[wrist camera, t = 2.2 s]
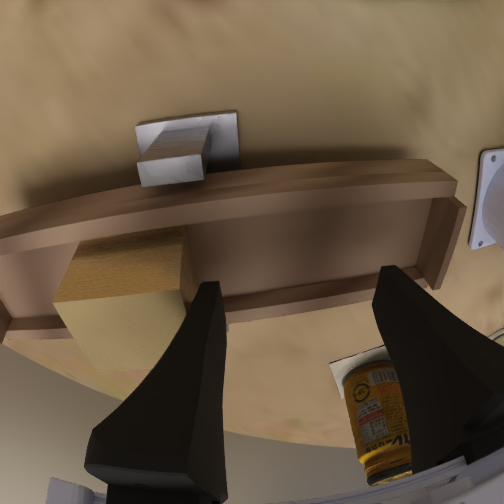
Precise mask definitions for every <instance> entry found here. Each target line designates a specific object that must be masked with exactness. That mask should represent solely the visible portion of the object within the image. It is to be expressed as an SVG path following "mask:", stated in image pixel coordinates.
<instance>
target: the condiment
mask: <svg viewBox="0 0 504 504" xmlns="http://www.w3.org/2000/svg"><path fill="white" fill-rule="evenodd" d="M329 365H330V367H331V370H332V373H333V375H334V379H335V381H336V384H337V387H338V389H339V392H340V395H341V398H342V399H344V398H345V399H346V405H347V408H348V413H349V417H350V424H351V427H352V432H353V435H354V439H355V444H356V449H357V455H358V459H359V461H360V462H361V463H362V464H363V465H365V469H364V470H365V473H366V475H367V482H368V484H369V485H370V486H377V485H380V484H384V483H388V482H391V481H395V480H398V479H401V478H404V477H408V476H411V475H413V473H412V460H411V446H410V437H409V429H408V422H407V417H406V411H405V406H404V401H403V397H402V393H401V388H400V384H399V381H398V378H397V375H396V372H395V369H394V367H393V364H392V362H391V359H390V357H389V354H388V352H387V349H386V347H385V346H383V347H380V348H375V349H373V350H370V351H367V352H364V353H359V354H358V355H355V356H353V357H350V358H345V359H342V360H340V361H337V362H334V363H331V364H329ZM354 365H355V366H354ZM353 366H354V367H353ZM351 368H352V369H351Z"/></svg>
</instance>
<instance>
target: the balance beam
mask: <svg viewBox="0 0 504 504" xmlns="http://www.w3.org/2000/svg"><path fill="white" fill-rule="evenodd" d="M457 182H458V181H457V180H456V179H454V178H453V177H452V176H450V175H449V174H447V173H446V172H445V171H443V170H442V169H440V168H439V167H437V166H436V165H434V164H433V163H431V162H430V161H428V160H427V159H405V160H365V161H343V162H325V163H311V164H297V165H285V166H274V167H264V168H254V169H245V170H236V171H228V172H220V173H212V174H205V178H204V180H199V181H190V182H181V183H172V184H164V185H156V186H148V187H142V185H141V184H140V185H134V186H129V187H123V188H118V189H113V190H108V191H103V192H98V193H93V194H88V195H83V196H79V197H74V198H70V199H65V200H61V201H57V202H52V203H48V204H44V205H40V206H36V207H32V208H28V209H24V210H21V211H17V212H13V213H9V214H6V215H2V216H0V344H2V342H3V339H4V337H5V336H6V338H7V339H8V340H42V339H68V338H73V336H72V335H71V333H70V331H69V330H68V328H67V327H66V325H65V323H64V322H63V320H62V318H61V317H60V315H59V313H58V312H57V310H56V308H55V307H54V305H53V300H54V298H55V295H56V293H57V291H58V288H59V286H60V284H61V281H62V279H63V277H64V275H65V273H66V270H67V268H68V266H69V264H70V262H71V260H72V257H73V255H74V253H75V251H76V249H77V247H78V245H79V243H80V241H82V240H88V239H94V238H100V237H106V236H112V235H119V234H125V233H131V232H138V231H144V230H151V229H158V228H165V227H171V226H178V225H185V230H186V235H187V240H188V244H189V249H190V254H191V259H192V263H193V268H194V272H195V277H196V281H197V286H198V288H199V285H200V284H201V283H202V282H206V281H219V282H220V288H221V294H222V299H223V305H224V311H225V317H226V324H231V323H239V322H246V321H253V320H260V319H266V318H273V317H279V316H286V315H292V314H298V313H304V312H310V311H315V310H321V309H326V308H332V307H337V306H343V305H348V304H353V303H358V302H363V301H368V300H373V297H374V294H375V290H376V286H377V282H378V277H379V273H380V269H381V266H388V265H396V266H397V267H399V268H400V269H401V270H402V271H403V272H405V273H406V274H407V275H408V276H409V277H410V278H411V279H413V280H414V281H415V282H416V283H417V284H418V285H419V286H421V287H422V288H427V286H428V284H429V286H430V287H431V289H432V290H436V289H440V287H441V285H442V282H443V279H444V277H445V274H446V271H447V269H448V266H449V263H450V260H451V257H452V254H453V251H454V248H455V245H456V242H457V239H458V236H459V233H460V230H461V226H462V223H463V219H464V216H465V212H466V209H467V207H466V206H465V205H464V204H463V203H461V202H460V201H459V200H458V199H457V198H455V197H454V195H455V191H456V186H457Z"/></svg>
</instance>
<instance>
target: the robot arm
mask: <svg viewBox="0 0 504 504" xmlns="http://www.w3.org/2000/svg"><path fill="white" fill-rule="evenodd" d="M492 156H493V157H492ZM491 157H492V159H491ZM495 243H497V244H498V245H499V246H500V247H501V248H502V249H503V250H504V148H503V149H494V150H486V151H484V152H483V153H482V155H481V159H480V171H479V182H478V191H477V199H476V206H475V213H474V219H473V225H472V231H471V236H470V242H469V246H470V248H471V249H472V250H476V249H479V248H482V247H485V246H489V245H492V244H495ZM372 308H373V312H374V316H375V319H376V323H377V326H378V329H379V332H380V334H381V337H382V339H383V342H384V344H385V347H386V349H387V352H388V354H389V357H390V359H391V362H392V364H393V367H394V369H395V372H396V375H397V378H398V381H399V384H400V388H401V393H402V397H403V401H404V406H405V411H406V417H407V422H408V429H409V437H410V446H411V460H412V473H413V475H411V476H408V477H404V478H401V479H398V480H395V481H391V482H388V483H384V484H380V485H377V486H373V487H369V488H365V489H360V490H356V491H351V492H347V493H342V494H337V495H332V496H326V497H320V498H313V499H306V500H299V501H290V502H281V503H269V504H381V503H385V502H388V501H392V500H395V499H398V498H401V497H405V496H408V495H411V494H413V493H416V492H419V491H422V490H425V489H427V488H430V487H433V486H435V485H438V484H440V483H443V482H445V481H448V480H449V482H448V484H447V485H445V486H443V487H440V488H438V489H436V490H434V491H431V492H429V493H428V494H426V495H424V496H422V497H421V498H418V499H416V500H413V501H411V502H410V503H409V504H504V346H502V345H500V344H499V343H497V342H495V341H493V340H491V339H490V338H488V337H486V336H485V335H483V334H481V333H480V332H478V331H477V330H475V329H473V328H472V327H471V326H469V325H468V324H466V323H465V322H463V321H462V320H461V319H459V318H458V317H457V316H455V315H454V314H453V313H451V312H450V311H449V310H448V309H446V308H445V307H444V306H443V305H441V304H440V303H439V302H438V301H437V300H435V299H434V298H433V297H432V296H431V295H430V294H429V293H427V292H426V291H425V290H424V289H423V288H422V287H421V286H419V285H418V284H417V283H416V282H415V281H414V280H413V279H411V278H410V277H409V276H408V275H407V274H406V273H405V272H403V271H402V270H401V269H400V268H399V267H397V266H396V265H388V266H381V269H380V273H379V277H378V282H377V286H376V290H375V294H374V297H373V301H372ZM226 347H227V336H226V317H225V311H224V305H223V299H222V294H221V288H220V282H219V281H206V282H202V283H201V284H200V285H199V288H198V291H197V293H196V295H195V298H194V300H193V302H192V304H191V306H190V308H189V310H188V312H187V314H186V316H185V318H184V320H183V322H182V324H181V326H180V328H179V329H178V331H177V333H176V334H175V336H174V338H173V339H172V341H171V343H170V344H169V346H168V347H167V349H166V350H165V352H164V353H163V355H162V356H161V358H160V359H159V361H158V362H157V363H156V365H155V366H154V367H153V369H152V370H151V371H150V372H149V374H148V375H147V376H146V377H145V379H144V380H143V381H142V382H141V383H140V385H139V386H138V387H137V388H136V389H135V390H134V391H133V392H132V393H131V394H130V395H129V396H128V397H127V398H126V400H125V401H124V402H123V403H122V404H121V405H120V406H119V407H118V408H117V409H116V410H115V411H113V412H112V413H111V414H110V415H109V416H108V417H106V418H105V419H104V420H103V421H102V422H101V423H99V424H98V425H97V426H96V427H95V428H93V430H92V433H91V436H90V439H89V442H88V446H87V452H86V457H85V463H84V468H85V469H86V471H87V472H88V473H90V474H91V475H93V476H95V477H96V478H98V479H100V480H102V481H103V482H105V483H107V484H108V489H107V494H103V493H98V492H94V491H92V490H91V489H89V488H87V487H85V486H82V485H79V484H76V483H72V482H68V481H64V480H60V479H57V478H54V477H51V478H50V481H49V487H48V493H47V500H46V504H223V503H224V502H225V501H226V500H227V499H228V492H227V481H226V469H225V454H224V436H223V409H222V402H223V385H224V372H225V359H226Z"/></svg>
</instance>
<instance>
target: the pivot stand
mask: <svg viewBox="0 0 504 504" xmlns="http://www.w3.org/2000/svg"><path fill="white" fill-rule="evenodd" d="M135 131H136V136H137V142H138V147H139V152H140V157H141V158H140V159H139V161H138V162H137V167H138V172H139V176H140V181H141V185H142V187H148V186H156V185H164V184H172V183H181V182H190V181H199V180H204V178H205V174H212V173H220V172H228V171H236V170H241V165H240V153H239V141H238V129H237V116H236V110H232V111H221V112H211V113H202V114H194V115H186V116H178V117H172V118H165V119H159V120H152V121H147V122H141V123H138V124H137V125H136V126H135ZM226 332H228V324H226Z"/></svg>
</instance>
